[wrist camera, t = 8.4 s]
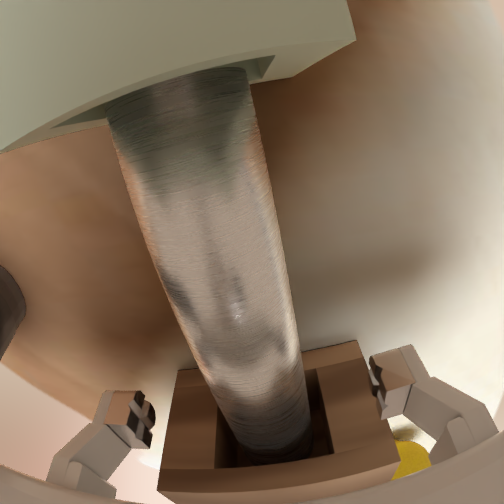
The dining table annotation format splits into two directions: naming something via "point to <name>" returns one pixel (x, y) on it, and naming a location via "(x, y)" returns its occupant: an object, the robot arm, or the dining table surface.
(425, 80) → the dining table surface
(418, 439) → the dining table surface
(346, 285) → the dining table surface
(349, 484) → the socket
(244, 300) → the tube
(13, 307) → the beverage cup
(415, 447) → the lemon
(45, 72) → the sage green block
